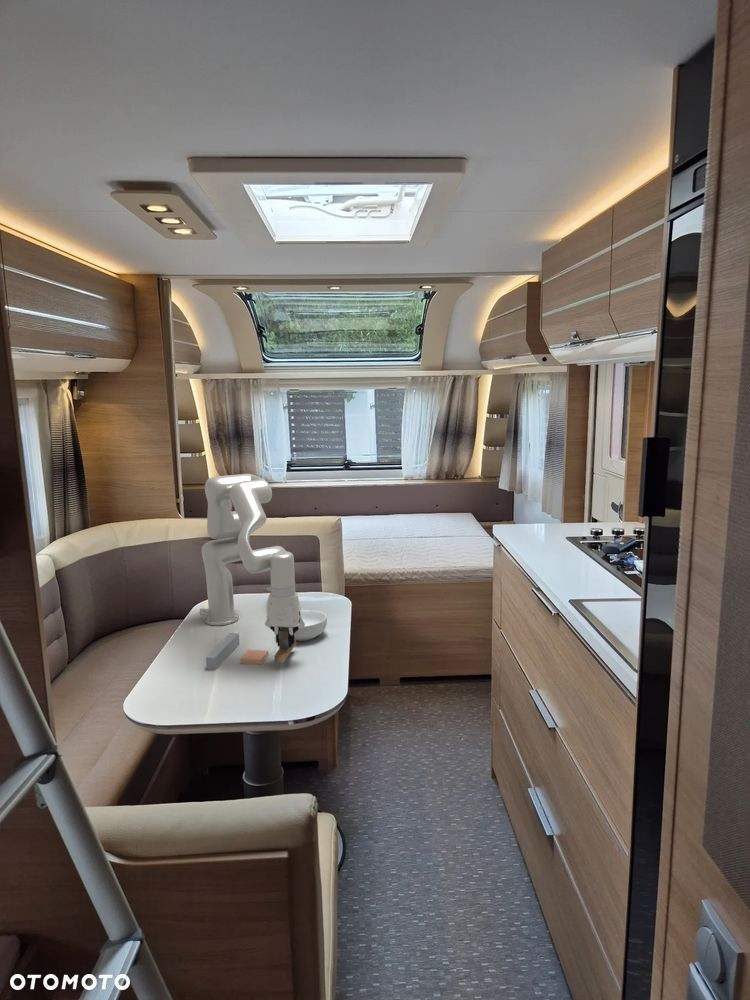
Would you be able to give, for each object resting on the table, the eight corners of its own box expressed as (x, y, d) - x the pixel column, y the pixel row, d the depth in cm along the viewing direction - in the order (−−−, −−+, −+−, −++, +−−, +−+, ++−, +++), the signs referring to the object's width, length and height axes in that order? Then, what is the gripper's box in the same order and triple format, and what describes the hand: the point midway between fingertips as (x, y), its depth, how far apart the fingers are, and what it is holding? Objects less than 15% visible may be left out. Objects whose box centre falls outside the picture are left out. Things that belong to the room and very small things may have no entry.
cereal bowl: (304, 624, 226) (303, 606, 224) (337, 634, 215) (336, 615, 214) (270, 638, 213) (268, 619, 212) (302, 650, 202) (301, 630, 201)
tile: (240, 664, 193) (240, 658, 193) (248, 655, 200) (248, 649, 200) (261, 665, 192) (260, 659, 192) (268, 656, 199) (268, 650, 199)
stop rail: (206, 669, 189) (205, 657, 189) (231, 644, 209) (230, 633, 208) (215, 669, 189) (214, 657, 188) (239, 644, 208) (238, 633, 208)
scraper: (274, 661, 188) (273, 637, 186) (287, 643, 202) (286, 620, 200) (283, 662, 187) (282, 637, 186) (296, 643, 201) (295, 620, 200)
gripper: (254, 593, 188) (257, 648, 192) (305, 595, 186) (307, 651, 189) (262, 585, 196) (265, 639, 199) (311, 587, 193) (313, 641, 196)
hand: (285, 644), depth 194 cm, fingers closed on scraper, 3 cm apart
